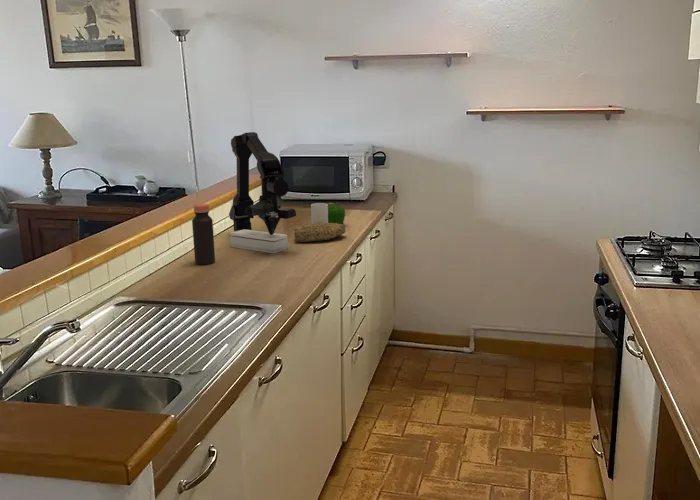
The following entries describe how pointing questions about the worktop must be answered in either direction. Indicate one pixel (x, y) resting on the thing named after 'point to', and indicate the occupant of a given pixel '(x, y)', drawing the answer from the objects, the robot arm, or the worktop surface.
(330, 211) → the bell pepper
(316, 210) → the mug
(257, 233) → the lid
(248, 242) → the cable tray
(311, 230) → the rock
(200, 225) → the bottle
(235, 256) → the worktop surface
